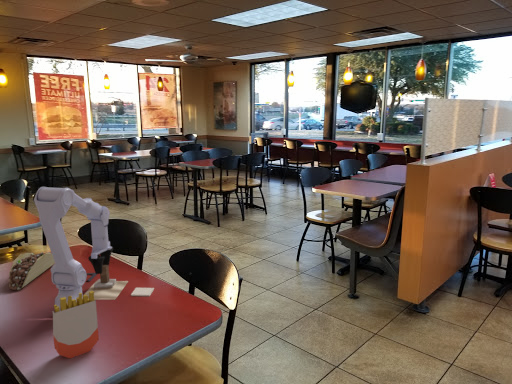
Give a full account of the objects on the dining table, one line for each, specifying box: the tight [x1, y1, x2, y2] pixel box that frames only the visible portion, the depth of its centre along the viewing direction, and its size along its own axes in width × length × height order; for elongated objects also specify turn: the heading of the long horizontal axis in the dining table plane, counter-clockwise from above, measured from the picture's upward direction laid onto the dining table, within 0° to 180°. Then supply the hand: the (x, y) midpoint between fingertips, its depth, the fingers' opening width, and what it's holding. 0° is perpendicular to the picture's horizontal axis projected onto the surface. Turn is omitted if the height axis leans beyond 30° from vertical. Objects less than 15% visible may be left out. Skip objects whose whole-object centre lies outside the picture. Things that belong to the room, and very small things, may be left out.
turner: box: [93, 265, 117, 288], centre depth 155 cm, size 5×7×8 cm
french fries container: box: [52, 291, 100, 359], centre depth 112 cm, size 5×11×18 cm, turn 132°
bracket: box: [85, 272, 98, 283], centre depth 166 cm, size 14×15×3 cm
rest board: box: [83, 280, 129, 301], centre depth 152 cm, size 16×13×1 cm
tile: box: [130, 287, 155, 297], centre depth 150 cm, size 2×7×6 cm
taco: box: [8, 251, 55, 291], centre depth 163 cm, size 10×27×10 cm, turn 0°
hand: (102, 269), depth 154 cm, fingers open, 7 cm apart
